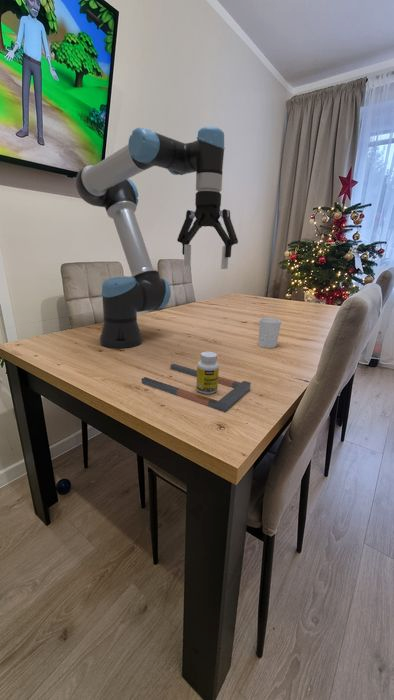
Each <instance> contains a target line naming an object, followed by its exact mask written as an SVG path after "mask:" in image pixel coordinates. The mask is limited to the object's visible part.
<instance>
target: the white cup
mask: <svg viewBox="0 0 394 700" xmlns="http://www.w3.org/2000/svg"><path fill="white" fill-rule="evenodd" d="M258 325H259V326H258V346H259V347H261V348H264V349H265V348H267V349H274V348H276V347H277V344H278V340H279V336H280V330H281V325H282V320H280V319H278V318H274V317H261V318H259V323H258Z"/></svg>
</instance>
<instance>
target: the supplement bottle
mask: <svg viewBox="0 0 394 700" xmlns="http://www.w3.org/2000/svg"><path fill="white" fill-rule="evenodd" d="M217 359H218V354H217V353H216V352H213V351H203V352H201V354H200V360H199V361H198V362H197V369H196V370H197V377H196V390H197V391H198V392H199V393H200V394H205V395H210V394H214V393H216V392H217V391H218V386H219V385H218V384H219V383H218V376H219V373H220V371H219V370H220V365H219V362H217V361H218V360H217Z"/></svg>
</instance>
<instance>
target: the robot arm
mask: <svg viewBox="0 0 394 700" xmlns="http://www.w3.org/2000/svg"><path fill="white" fill-rule="evenodd" d="M225 148H226V147H225V133H224V131H223V130H222V128H221V129H220V128H219V127H215V126H204V127H201V128H200V129H199V130H198V132H197V137H196V140H194V141H192V142H191V141H190V142H186V143H185V142H182V141H179V140H177V139H174V138H171V137H168V136H166V135H163V134H161V133H157V132H155V131H153V130H151V129H148V128H143V127H136V128H134V129H133V130H132V132H131V135H130V136H129V138H128V144H127V145H125V146H123V147H121V148H120V149H118V150H116V151H115V152H113V153H112V154H110V155H109V156H107V157H105V158H104V159H103V160H100V161H99V162H98V163H96V164H94V165H93V164H90V165H86V166H84V167H83V168H82V169H80V170H79V171H78V173H77V175H76V177H75V187H76V191H77V193H78V195H79V196H80V198H81V200H83V201H84V202H86V203H87V204H89V205H91V206H94V207H98V208H99V207H100V208H104V209H105V210H106V214H107V217H109V218H111V219H113V224H114V226H115V228H116V232H117V235H118V237H119V241H120V244H121V246H122V249H123V253H124V255H125V258H126V259H125V260H126V262H127V264H128V267H129V271H130V274H131V276H126V275H125V276H115V277H111V278H108V279H105V280H104V281H103V282H102V284H101V296H102V311H103V314H102V315H103V326H102V330H101V334H100V336H99V344H100V345H101V346H103V347H105V348H111V349H126V348H127V349H128V348H132V347H133V348H134V347H137V346H140V345H141V344H142V343H143V335H142V333H141V331H140V327H139V324H138V319H137V317H138V315H137V314H138V313H140V312H147V311H157V310H158V309H159V310H160V309H163V308H165V307H166V306H167V305H168V304H169V302H170V298H171V295H172V294H171V293H172V292H171V291H172V290H171V286H170V283H169V282H168V280H166V278H161V276H160V273H159V271H158V270H157V269H154V267H153V264H152V261H151V259H150V256H149V252H148V249H147V247H146V244H145V241H144V238H143V234H142V232H141V229H140V226H139V222H138V220H137V217H136V214H135V212H136V211H137V206H138V204H139V199H138V198H139V191H138V189H137V186H136V185H135V183H134V181H133V180H131V179H130V178H132V177H134V176H136V175H138V174H140V173H142V172H144V171H146V170H148V169H151V168H153V167H158V168H163V169H166V170H168V172H169V173H170V174H171V175H174V176H177V175H178V176H179V175H180V176H183V175H187V174H191V173H195V175H196V177H195V191H196V192H195V203H194V204H195V211H194V210H188V209H187V211H186V213H185V219H184V221H183V224H182V227H181V228H180V232H179V233H178V237H177V243H180V244H182V248H181V249H182V252H181V253H182V255H183V266H184V267H191V265H192V264H191V263H192V262H191V259H192V258H191V257H192V256H191V255H192V245H191V241H192V240H193V238H194V237H195V235H196V234H197V233H198V232H199V230H200V229H201V228H202V227H213V228H214V229H215V231H216V232H217V234H218V235H219V238H220V239H221V241H222V242H223V243H224V244H223V246H222V249H221V251H222V252H221V264H220V267H221V268H220V269H221V270H228V266H229V258H231V256H232V247H233V246H234V245H238V244H239V240H238V237H237V234H236V231H235V228H234V225H233V221H232V219H231V211H230V210H229V209H227V208H226V209H225V208H224V209H222V210H221V204H222V194H221V191H222V190H223V188H222V187H223V168H224V166H223V165H224V155H225ZM220 217H221V218H222V220H223V224H224V226H225V229H224V228H223V226H222V223H221V222H220V220H219V219H220ZM194 219H195V220H194ZM193 221H194V222H193ZM225 230H226V231H225Z"/></svg>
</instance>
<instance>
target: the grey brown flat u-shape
mask: <svg viewBox="0 0 394 700" xmlns="http://www.w3.org/2000/svg"><path fill="white" fill-rule="evenodd" d="M169 367H170V368H169V369H171V370H172V371H176V372H180V373H183V374H187V375H190V376H194V377H196V378H197V369H193V368H191V367H187V366H184V365H180V364H177V363H176V364H175V363H172V364H170V365H169ZM141 384H142V385H143V384H144V385H146V386H150V387H153V388H155V389H158V390H161V391H164V392H167V393H169V394H173V395H175V396H179V397H182V398H185V399H187V400H190V401H193V402H196V403H199V404H202V405H204V406H207V407H210V408H213V409H217V410H219V411H223V412H227V411H228V410H229V409H230V408H231V407H233V405H235V403H237V402H238V401H239V400H240V399H241V398H242V397H244V396H245V395H246V394H247V393H249V391H250V390H251V386H252V385H251V384H252V383H251V382H250V381H246V380H243V381H241V382H240V381H236V380H233V379H230V378H225V377H222V376H219V375H218V384H221V385H223V386H226V387H227V386H228V387H231V388H233V389H232V390H230V391H229V392H227V393H226V394H225V395H224V396H222V397H221V398H220V399H219V400H216V399H214V398H211V397H208V396H205V395H202V394H198V393H195V392H192V391H190V390H185V389H183V388H180V387H177V386H174V385H171V384H168V383H164V382H162V381H158V380H156V379H152V378H150V377H147V376H144V377H142V378H141Z"/></svg>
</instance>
